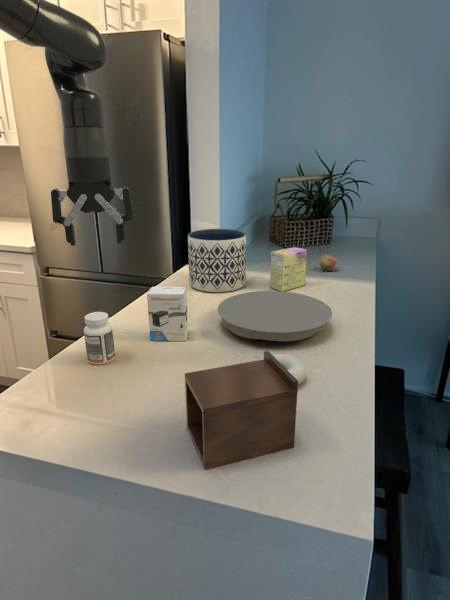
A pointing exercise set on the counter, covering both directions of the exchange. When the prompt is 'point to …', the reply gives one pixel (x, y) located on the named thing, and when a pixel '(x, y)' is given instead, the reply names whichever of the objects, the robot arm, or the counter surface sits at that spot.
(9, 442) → the counter surface
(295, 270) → the box
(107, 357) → the pill bottle
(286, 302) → the flat disc
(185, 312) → the ink box
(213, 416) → the open wooden cube
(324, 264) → the apple
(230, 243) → the planter
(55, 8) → the robot arm
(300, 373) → the donut
